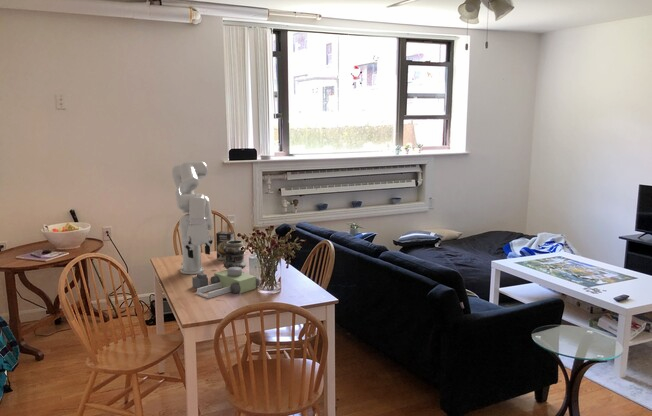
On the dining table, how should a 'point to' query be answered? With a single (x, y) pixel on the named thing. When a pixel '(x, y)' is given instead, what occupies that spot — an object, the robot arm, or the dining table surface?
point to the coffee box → (223, 243)
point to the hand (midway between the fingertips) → (199, 255)
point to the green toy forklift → (229, 283)
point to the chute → (200, 280)
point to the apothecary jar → (234, 254)
